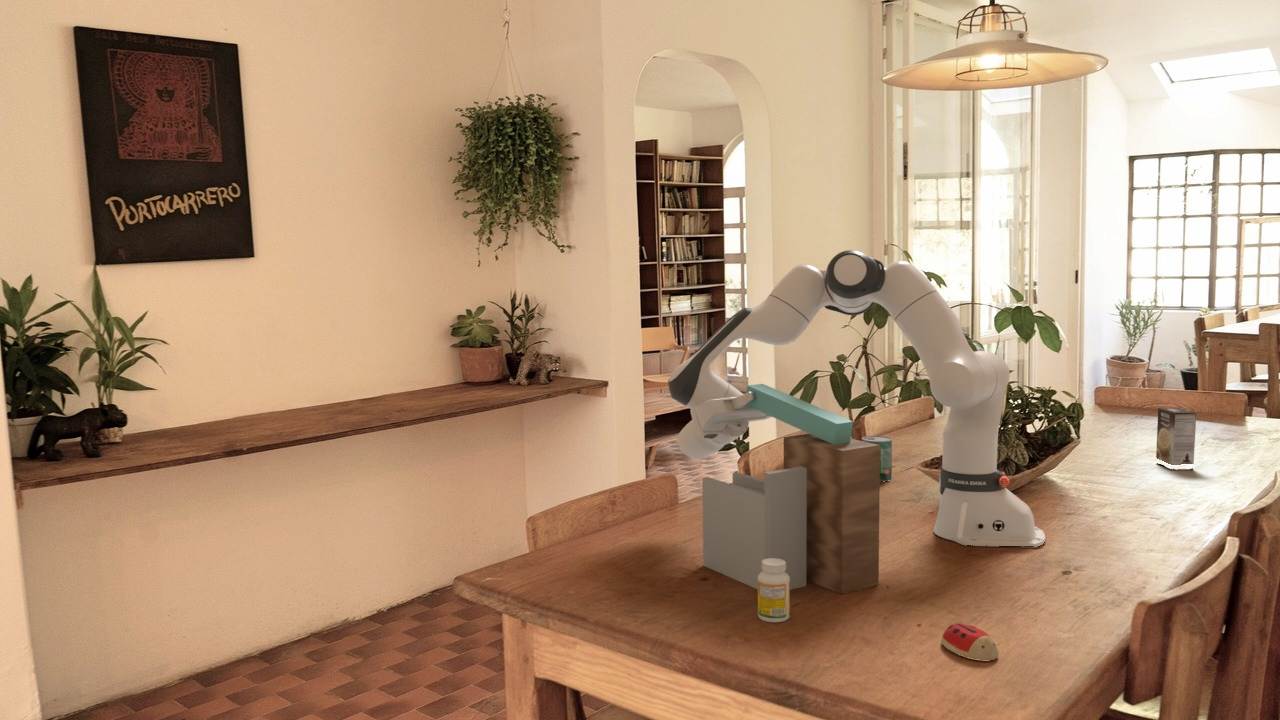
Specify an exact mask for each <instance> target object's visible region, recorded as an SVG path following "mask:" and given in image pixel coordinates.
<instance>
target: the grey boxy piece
mask: <svg viewBox="0 0 1280 720" xmlns="http://www.w3.org/2000/svg"><path fill="white" fill-rule="evenodd" d="M701 482H702V553H703V554H702V555H703V556H702V559H703V561H702V566H703V567H705V568H709V569H710V570H713V571H715V572H718V573H720V574H722V575H723V576H726V577H728V578H731V579H733V580H735V581H738V582H740V583H741V584H744V585H747V586H749V587H751V588H753V589H756V590H758V575H759V574H760V573H761V572H763V570H762V560H764V559H768V558H777V559H782V560H784V561H785V562H786V570H785V573H787V574H788V575H789V577H790V591H793V590H796V589H800V588H804V587H807V580H806V520H807V468H805V467H795V468H789V469H784V468H783V469H778V470H772V471H771V470H770V471H765V472H764V479H762V478H759V477H755V476H752V475H748V474H745V473H741V472H738V471H736V472H732V482H731V483H728V482H724V481H722V480H718V479H715V478H712V477H709V476H706V477H702V481H701Z"/></svg>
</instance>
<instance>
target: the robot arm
mask: <svg viewBox="0 0 1280 720" xmlns="http://www.w3.org/2000/svg"><path fill="white" fill-rule="evenodd" d="M874 303H876V304H878V305H880V306H881V307H882V308H884V309H885V310H886V311H887V312H888V314H889V315H890V317H891V318H892V320H893V321H894V323H896V325H897V327H898V328H899V330H901V332H902V334H903V335H904V336H905V337H906V338H907V340H908V342H909V343H910V344H911V345H912V347H913V348H914V351H915V352H916V354H917V355H918V357H919V359H920V362H921V363H922V365H923V367H924V369H925V373H926V374H927V377H928V378H929V388H930V391H931V394H932V396H933V398H934V399H935V400H936V402H938V403H939V404H941V405H942V406H945V407H947V408H950V409H949V413H948V417H947V421H946V424H945V425H944V429H943V431H942V457H941V458H942V466H941V467H940V470H939V475H938V476H939V479H938V480H939V481H938V483H939V485H938V486H939V487H938V489H939V493H940V498H939V506H938V512H937V517H936V521H935V524H934V527H933V530H932V531H933V533H934V534H935V535H937V536H938V537H941V538H942V539H946V540H949V541H952V542H956V543H957V544H960V545H963V546H965V547H966V546H967V545H971V547H999V546H1022V547H1021V548H1024V547H1023V546H1040V545H1042V544H1043V543H1044V542H1045V543H1046V541H1045V540H1046V534H1045V532H1044V531H1043V530H1042V529H1041V528H1039V527H1037V526H1036V525H1035V519H1034V515H1033V512H1032V510H1031V508H1030V507H1029V505H1028V504H1027V503H1025V502H1024V501H1023V500H1022V499H1020V497H1018V496H1017V495H1015V494H1014V493H1013V492H1011V491H1010V489H1008V488H1007V487H1008V486H1009V485H1010V479H1009V477H1007V474H1006V473H1005V472H1004V471H1000V470H999V469H997V468H998V439H999V438H998V437H999V429H1000V423H1001V418H1002V414H1003V409H1004V402H1005V397H1006V396H1005V395H1006V390H1007V386H1008V385H1009V383H1010V377H1011V375H1010V367H1009V366H1008V364H1007V362H1006V361H1005V360H1004V358H1002V357H1001V356H1000V355H998V354H996V353H993V352H990V351H986V350H976V351H974V350H973V349H972V348H971V346H970V344H969V342H968V340H967V338H966V336H965V334H964V332H963V329H962V325H961V320H960V318H959V317H958V316H957V315H956V313H955V312H954V311H953V309H952V308H951V307H950V306H949V304H948V303H947V302H946V300H945V299H944V298H943V296H942V295H941V294H940V292H939V291H938V290H937V288H936V287H935V286H934V284H932V283H931V282H930V280H929V279H928V278H927V277H926V276H925V275H924V274H923V273H922V272H921V271H920V270H919V269H918V268H917V267H915V266H914V265H913V264H912V263H911V262H908V261H906V260H898V261H894V262H891V263H889V264H888V265H886V266H885V265H884V263H883V262H882V261H881V260H878V259H876V258H874V257H871V256H869V255H867V254H865V253H864V252H861V251H858V250H853V249H851V250H843V251H841V252H838V253H837V254H836V255H835V256H833V257H832V258H831V260H830V261H829V263H828V264H827V267H826V268H825V270H820V269H818V268H817V267H815V266H813V265H810V264H806V263H805V264H804V263H802V264H797V265H795V266H794V267H793V268H792V269H791V270H789V272H787V274H785V275H784V277H782V279H780V281H779V282H778V283H777V284H776V286H775V287H774V288H773V289H772V290H771V292H770V293H769V294H768V296H767V297H766V298H765V299H764V301H762V302H761V303H759V304H758V305H757V306H755V307H752V308H750V307H744V308H742V309H740V310H739V311H737V312H736V313H734V314H733V315H732V316H731V317H729V318H728V319H727V320H726V322H724V323H723V324H722V325H721V326H720V327H719V328H718V329H717V330H716V331H715V332H714V333H713V334H712V335H711V336H710V337H709V338H708V339H707V340H706V341H705V342H704V343H703V344H701V346H699V348H698V349H696V350H695V351H694V352H693V353H692V354H691V355H690V356H689V357H688V358H686V359H685V360H684V361H682V362H681V363H680V364H679V365H678V366H676V368H675V369H674V370H673V371H672V373H671V374H670V376H669V378H668V380H667V384H668V385H667V386H668V390H669V394H670V397H671V399H672V400H675V401H676V402H677V403H679V404H681V405H682V406H684V407H685V406H686V407H687V408H688V409H690V410H689V411H690V415H691V420H690V421H689V422H688V423H687V424H685V426H684V427H683V428H682V429H681V431H680V432H679V433H678V436H677V445H678V447H679V449H680V451H681V452H682V453H683V454H684V455H686V456H687V457H688V458H691V459H693V460H702V459H705V458H708V457H709V456H710V457H711V456H712V455H713V454H716V453H717V452H718V451H720V450H722V449H723V448H724V447H725V445H729V444H730V443H732V442H734V441H735V440H736V439H738V438H740V437H741V436H742V435H744V434H745V433H746V432H747V430H748V428H749V425H750V424H749V422H756V421H764V420H767V419H771V418H773V417H772V416H769V415H767V414H765V413H763V412H761V411H758V410H756V409H754V408H752V407H750V406H747V405H746V404H748V403H750V402H753V401H754V400H756V399H757V396H756V393H755V392H754V391H751V392H747V391H746V392H747V393H746V392H745V393H744V394H743V393H742V392H741V391H740V390H738V389H737V388H736V387H735V386H733V385H732V384H731V383H729V382H728V381H726V380H724V379H723V378H722V377H721V376H720V375H718V374H716V373H715V372H714V371H713V370H712V369H711V368H710V365H711V364H712V363H713V362H714V361H715V360H716V359H717V358H718V357H720V355H721V354H722V353H723V352H725V350H726V349H728V348H729V347H730V346H731V344H733V343H734V342H735V341H737V340H740V339H749V340H752V341H757V342H761V343H764V344H768V345H773V346H785V345H789V344H792V343H793V342H795V341H796V340H798V338H799V337H800V336H801V335H802V334H804V332H805V330H806V329H807V327H808V326H809V325H810V323H811V322H812V321H813V319H814V318H815V316H816V315H817V314H818V313H819V311H820V310H821V309H822V308H825V309H827V310H829V311H834V312H836V313H840V314H843V315H846V316H860V315H862V314H864V313H866V312H867V311H868V310H870V308H871V307H872V306H873V305H874ZM1045 543H1044V544H1045ZM972 545H973V546H972ZM986 545H987V546H986ZM1042 546H1043V545H1042ZM967 547H968V546H967ZM1040 547H1041V546H1040Z"/></svg>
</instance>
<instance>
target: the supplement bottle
mask: <svg viewBox="0 0 1280 720" xmlns="http://www.w3.org/2000/svg"><path fill="white" fill-rule="evenodd" d="M762 570H763V572H761V573H760V574H759V575H758V589H757V616H758V618H759V619H760V620H761V621H763V622H768V623H783V622H786V621H787V620H788V619H789V618H790V615H791V614H790V613H791V612H790V608H791V604H790V601H791V597H790V596H791V594H790V593H791V590H790V577H789V575H788V574H787V573H785V570H786V562H785V561H784V560H782V559H777V558H768V559H764V560H762Z"/></svg>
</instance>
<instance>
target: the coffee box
mask: <svg viewBox="0 0 1280 720" xmlns="http://www.w3.org/2000/svg"><path fill="white" fill-rule="evenodd" d="M1157 409H1158V410H1157V428H1156V430H1157V431H1156V451H1155V452H1156V453H1155V459H1156V458H1157V459H1159V460H1162V461H1164V462H1166V463H1168V464H1171V465H1181V464H1195V463H1194V462H1195V446H1196V445H1195V443H1196V428H1197V427H1196V425H1197V423H1196V422H1197V412H1195V411H1192V410H1189V409H1186V408H1183V407H1181V406H1180V407H1179V406H1178V407H1175V406H1174V407H1158V408H1157Z"/></svg>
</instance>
